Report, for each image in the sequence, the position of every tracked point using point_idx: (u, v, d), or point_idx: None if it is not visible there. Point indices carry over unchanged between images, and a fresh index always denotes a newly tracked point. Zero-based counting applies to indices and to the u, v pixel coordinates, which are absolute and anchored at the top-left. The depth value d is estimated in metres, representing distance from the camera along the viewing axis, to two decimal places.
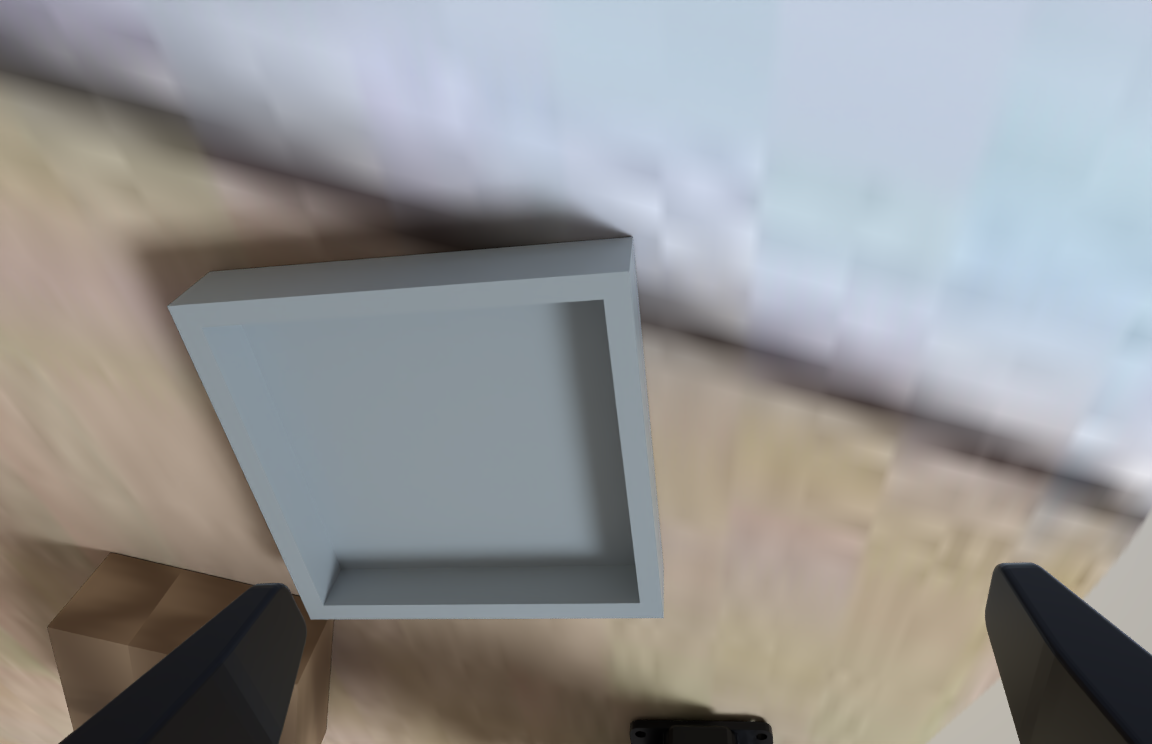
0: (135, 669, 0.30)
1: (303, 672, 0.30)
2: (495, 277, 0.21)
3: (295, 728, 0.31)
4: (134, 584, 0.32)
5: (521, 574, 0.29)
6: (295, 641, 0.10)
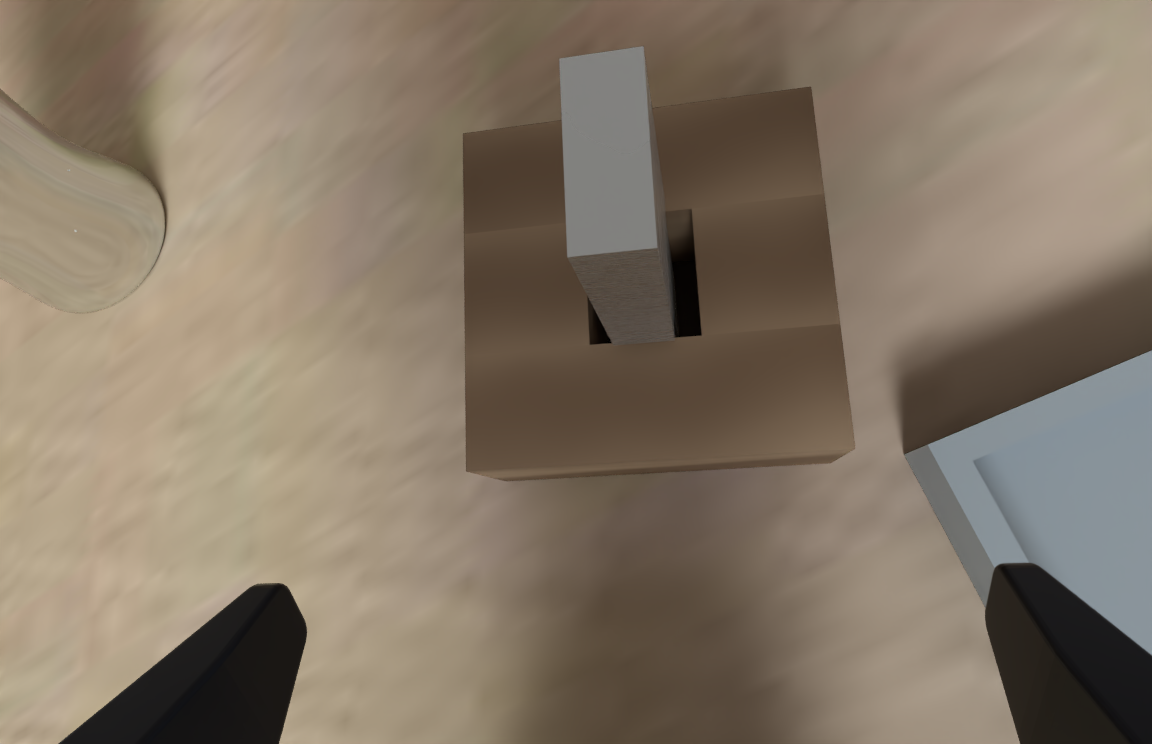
0: (766, 205, 0.20)
1: (846, 451, 0.19)
2: None
3: (724, 454, 0.19)
4: None
5: None
6: (295, 641, 0.10)
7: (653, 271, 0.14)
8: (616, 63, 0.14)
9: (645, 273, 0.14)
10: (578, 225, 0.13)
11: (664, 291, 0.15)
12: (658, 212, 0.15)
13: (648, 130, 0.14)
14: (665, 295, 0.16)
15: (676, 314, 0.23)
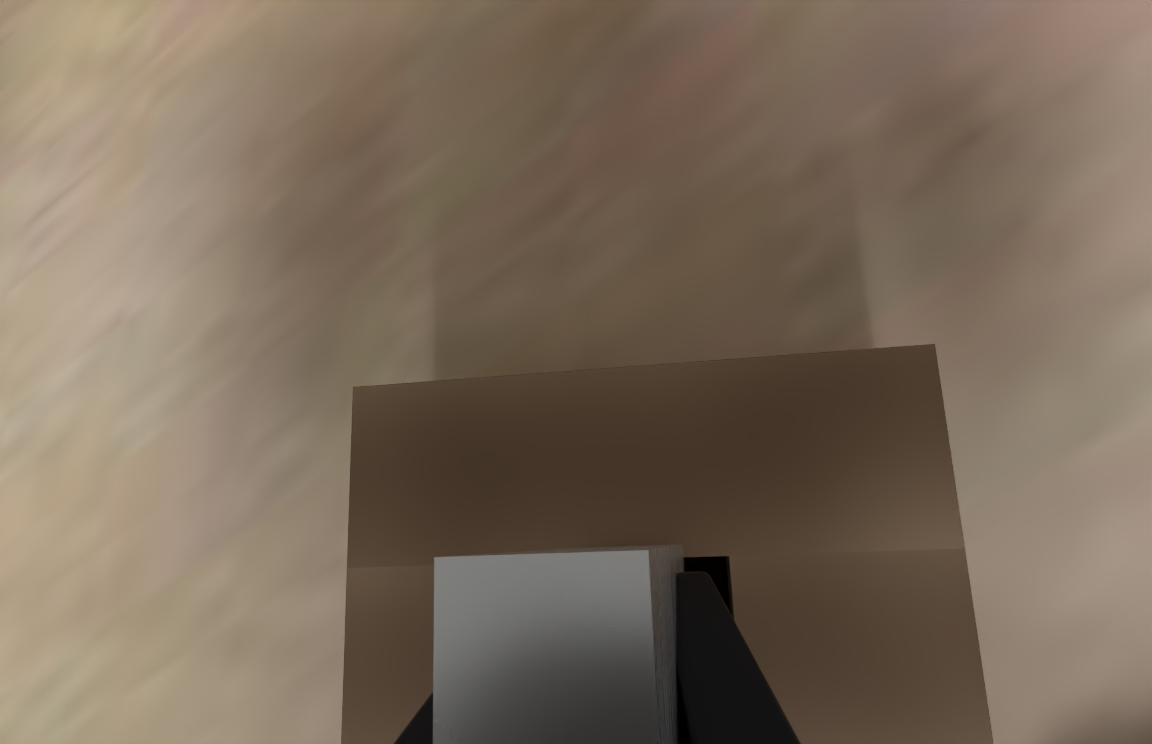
0: (861, 561, 0.12)
1: None
2: None
3: None
4: None
5: None
6: None
7: None
8: (578, 593, 0.05)
9: None
10: None
11: None
12: None
13: None
14: None
15: None
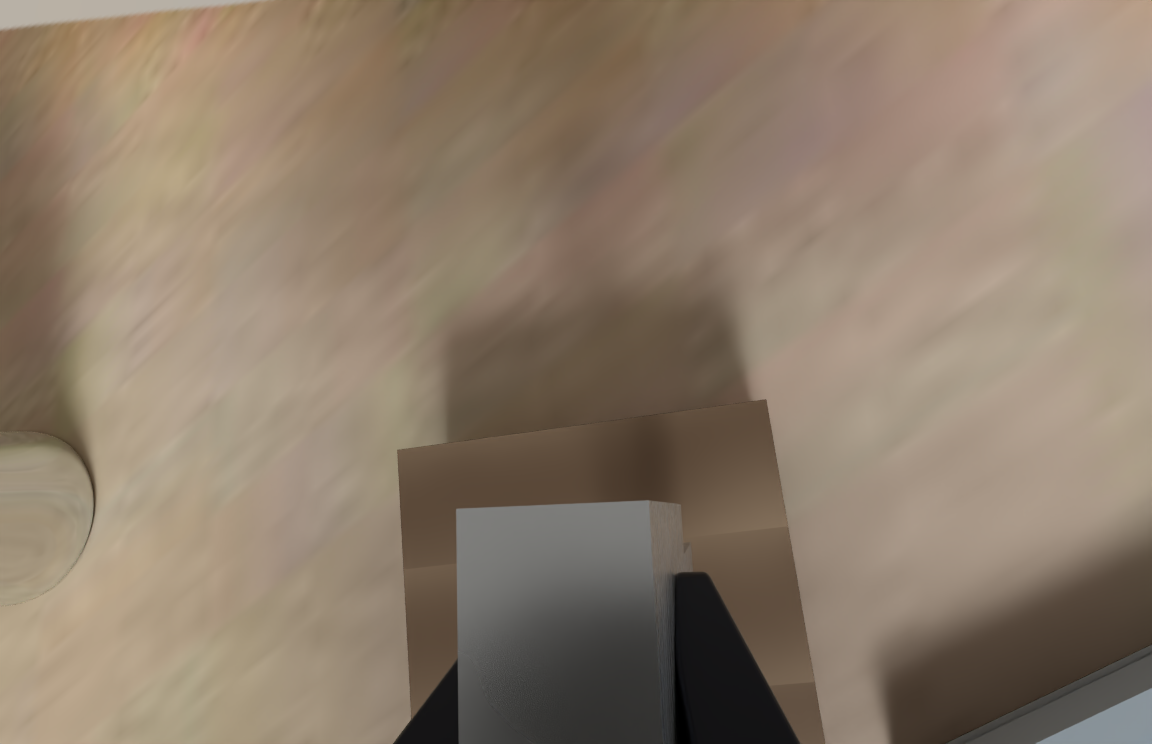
0: (726, 539, 0.19)
1: None
2: None
3: None
4: None
5: None
6: None
7: None
8: (587, 539, 0.06)
9: None
10: None
11: None
12: None
13: (660, 727, 0.06)
14: None
15: None
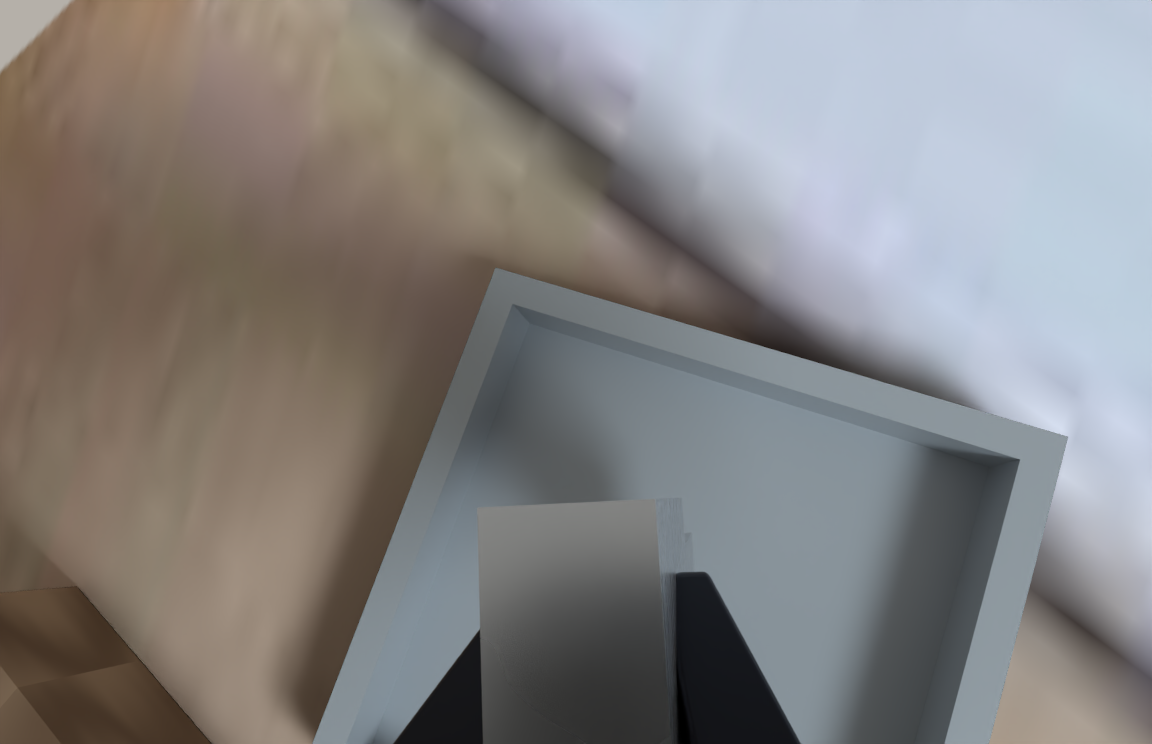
0: None
1: None
2: None
3: None
4: (76, 632, 0.21)
5: None
6: None
7: None
8: (598, 535, 0.07)
9: None
10: None
11: None
12: None
13: (667, 705, 0.06)
14: None
15: None
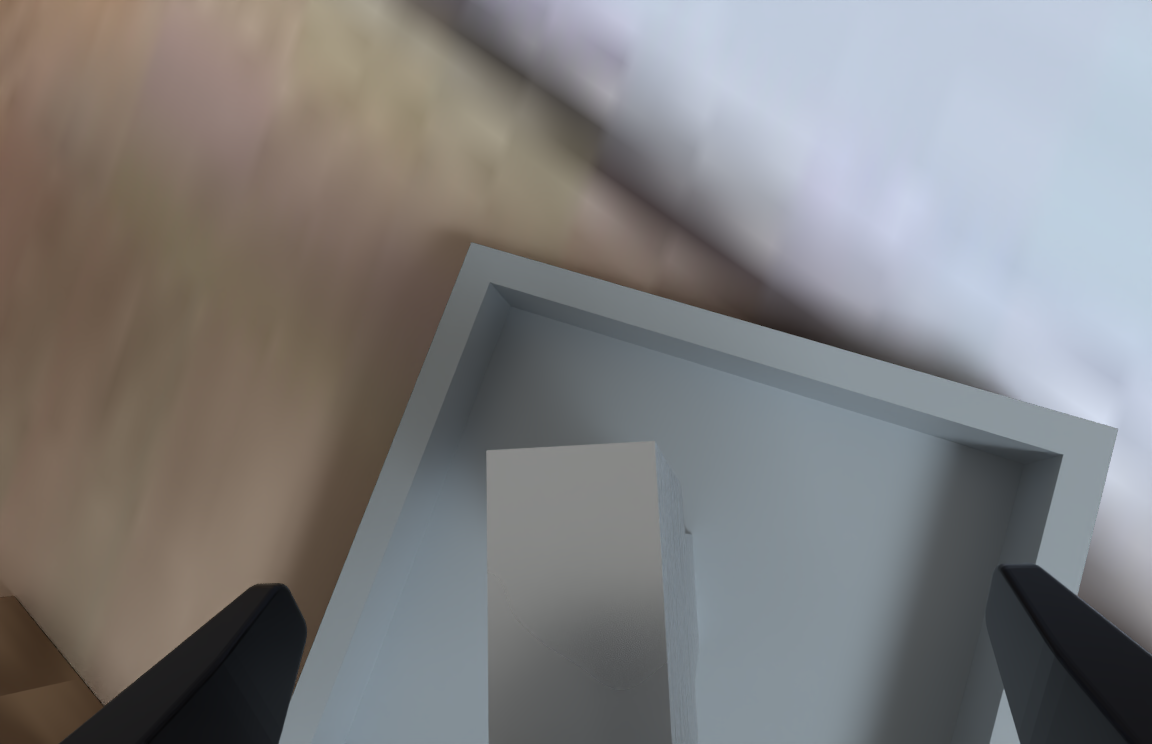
0: None
1: None
2: None
3: None
4: (7, 647, 0.19)
5: None
6: (295, 641, 0.10)
7: None
8: (600, 475, 0.07)
9: None
10: None
11: None
12: (680, 710, 0.08)
13: (664, 635, 0.07)
14: None
15: (695, 600, 0.16)
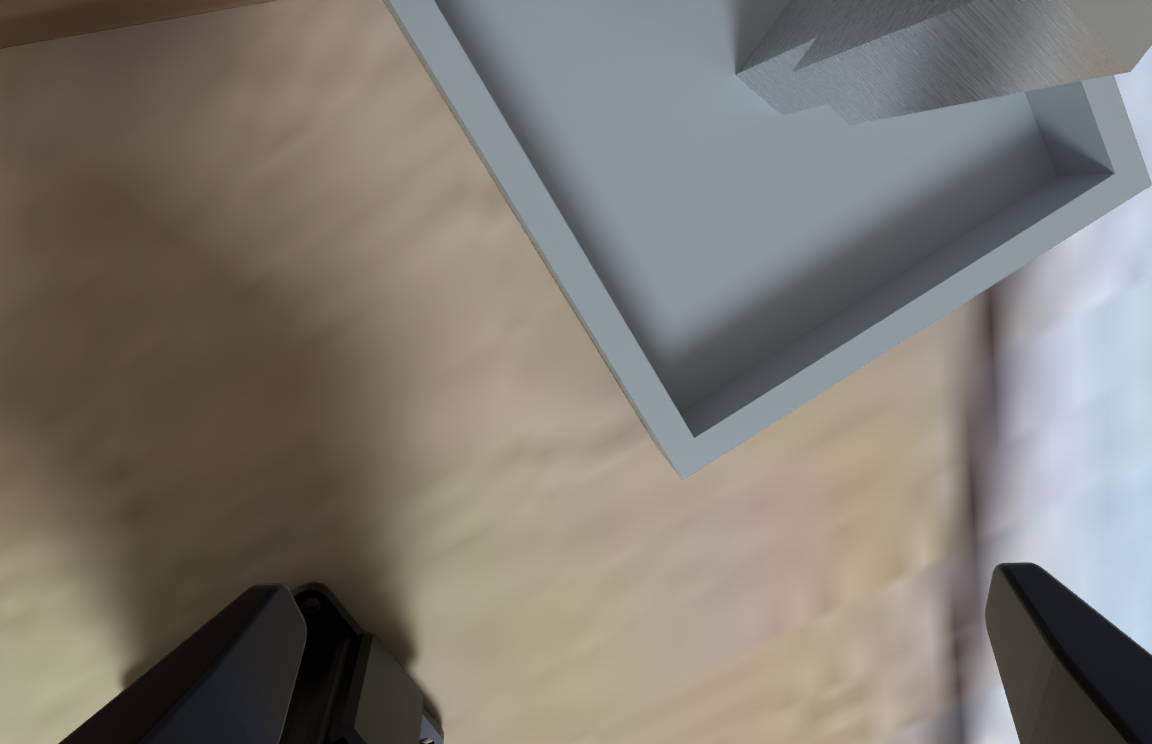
0: None
1: None
2: None
3: None
4: None
5: None
6: (295, 641, 0.10)
7: (1045, 78, 0.10)
8: None
9: (1033, 71, 0.10)
10: None
11: (985, 98, 0.11)
12: None
13: None
14: (973, 100, 0.11)
15: None
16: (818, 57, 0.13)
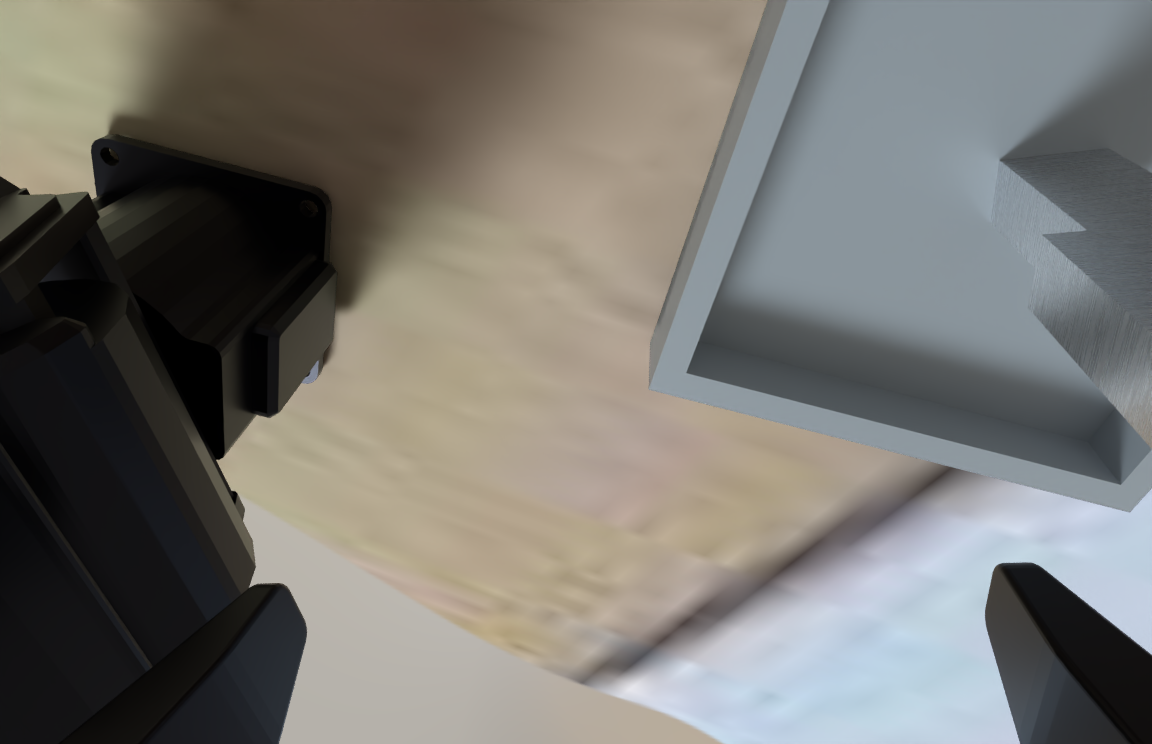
0: None
1: None
2: None
3: None
4: None
5: None
6: (295, 641, 0.10)
7: None
8: None
9: None
10: None
11: (1132, 425, 0.12)
12: None
13: None
14: (1123, 414, 0.12)
15: None
16: (1072, 254, 0.14)
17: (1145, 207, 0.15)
